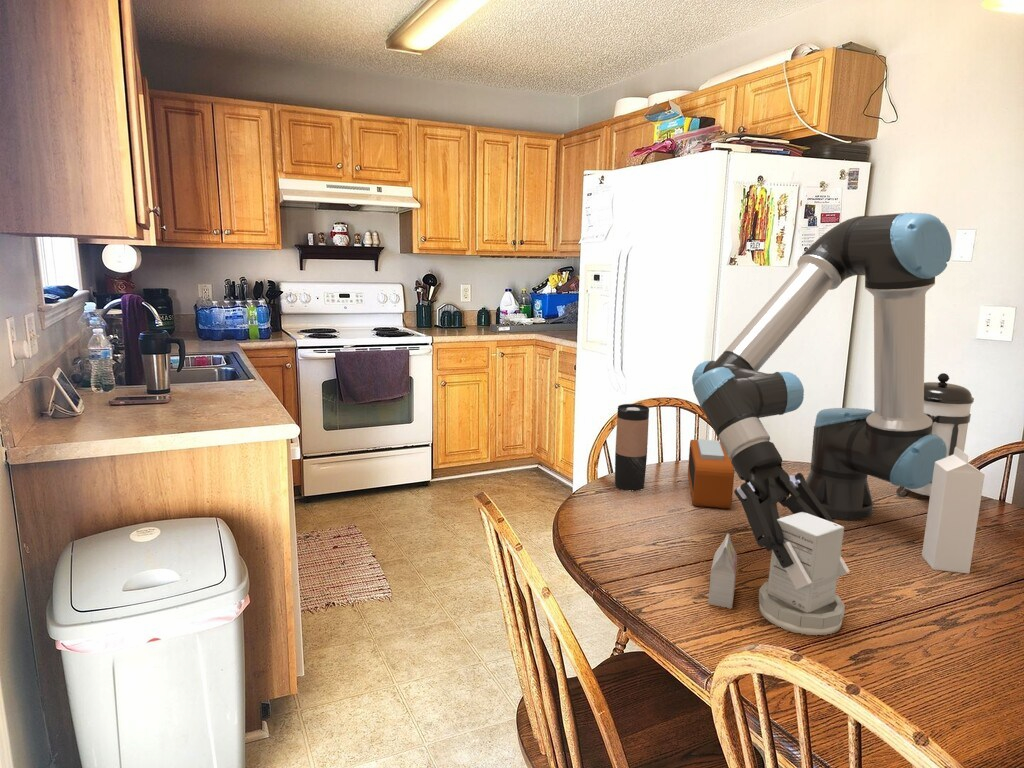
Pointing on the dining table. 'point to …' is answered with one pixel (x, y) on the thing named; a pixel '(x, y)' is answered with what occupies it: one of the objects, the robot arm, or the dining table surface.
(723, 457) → the alarm clock
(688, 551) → the dining table surface
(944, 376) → the coffee press
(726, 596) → the white juice carton
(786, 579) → the supplement box
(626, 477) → the travel mug
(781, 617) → the white faceted bowl
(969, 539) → the milk
